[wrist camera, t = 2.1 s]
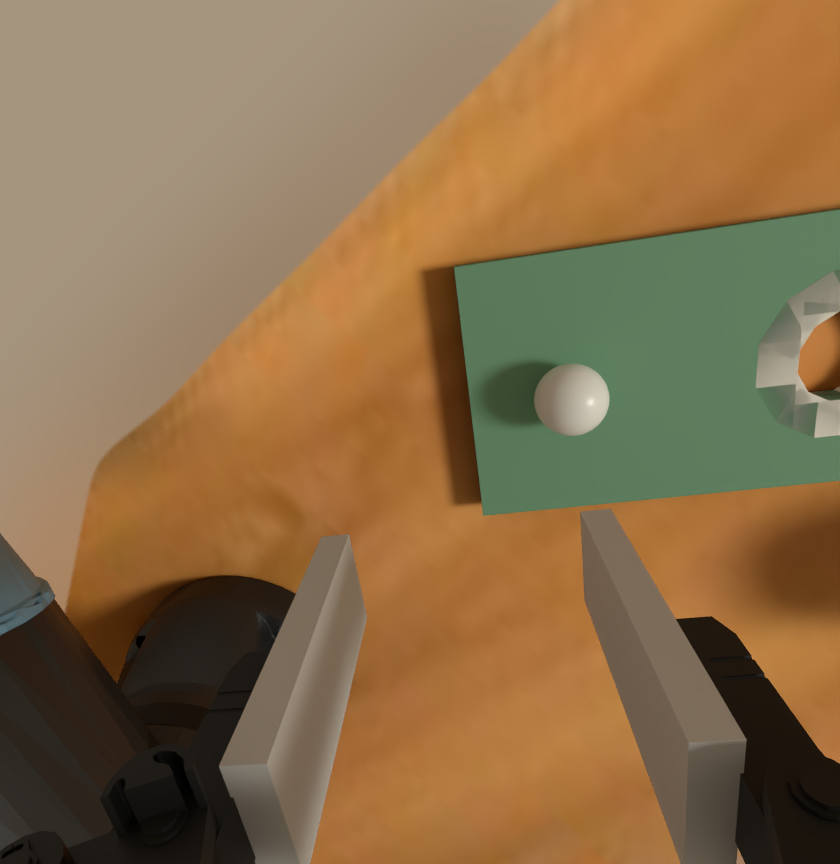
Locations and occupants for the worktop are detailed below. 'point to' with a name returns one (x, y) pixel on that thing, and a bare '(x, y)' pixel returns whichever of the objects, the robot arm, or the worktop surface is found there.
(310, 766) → the robot arm
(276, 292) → the worktop surface
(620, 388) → the mat
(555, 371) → the ball
